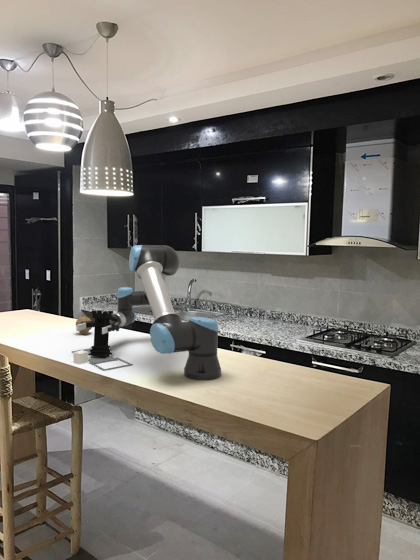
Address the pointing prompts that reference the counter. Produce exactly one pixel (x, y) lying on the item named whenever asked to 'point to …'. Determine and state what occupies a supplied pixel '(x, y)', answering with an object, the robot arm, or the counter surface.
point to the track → (98, 357)
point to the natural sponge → (83, 321)
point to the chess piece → (99, 338)
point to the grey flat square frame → (113, 367)
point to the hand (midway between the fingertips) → (89, 329)
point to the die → (80, 356)
